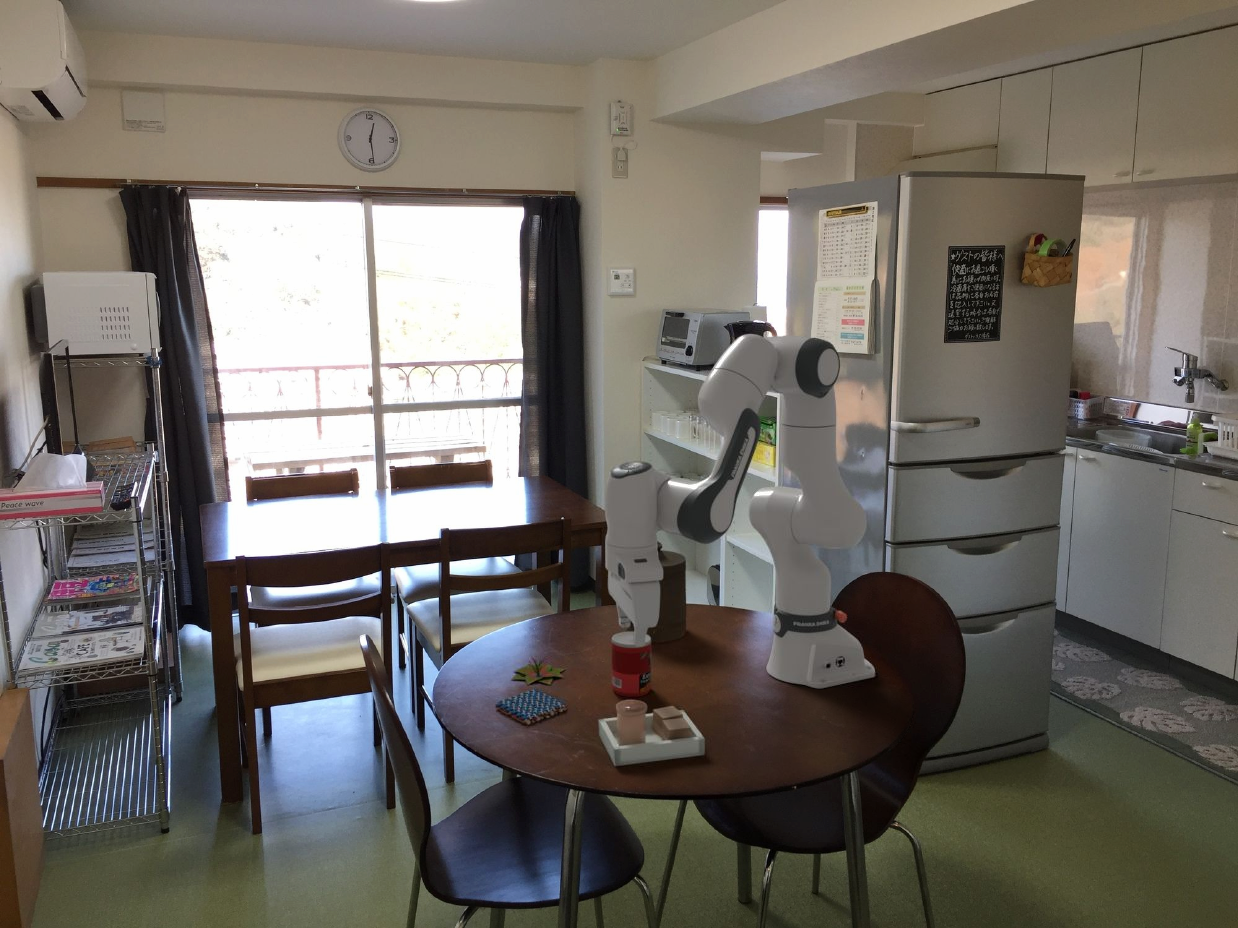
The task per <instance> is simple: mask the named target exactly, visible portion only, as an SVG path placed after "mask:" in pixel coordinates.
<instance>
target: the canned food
mask: <svg viewBox="0 0 1238 928" xmlns="http://www.w3.org/2000/svg"><path fill="white" fill-rule="evenodd" d="M633 634H634V632H623V631H621V632H618V633H615V634H613V635H612V637H611V687H612V691H613V692H614V693H615V694H617V695H619V696H622V697H627V698H628V697H629V698H635V697H637V698H638V697H643V696H645V695H648V693H649V692H650V690H651V687H652V642H651V637H650V636H649V635H647V634H646V636H645V645H644V646H641V647H636V646H635V645H634V643H633Z"/></svg>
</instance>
